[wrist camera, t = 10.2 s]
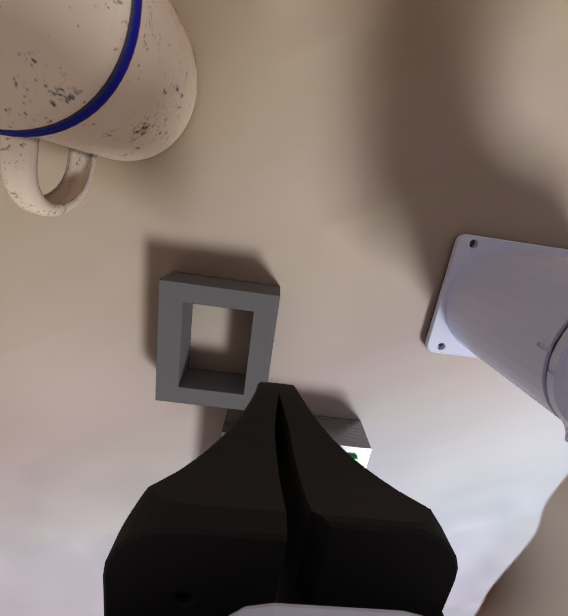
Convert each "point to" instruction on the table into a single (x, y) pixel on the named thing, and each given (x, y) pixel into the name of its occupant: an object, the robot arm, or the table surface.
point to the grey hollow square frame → (177, 334)
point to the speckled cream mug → (88, 89)
